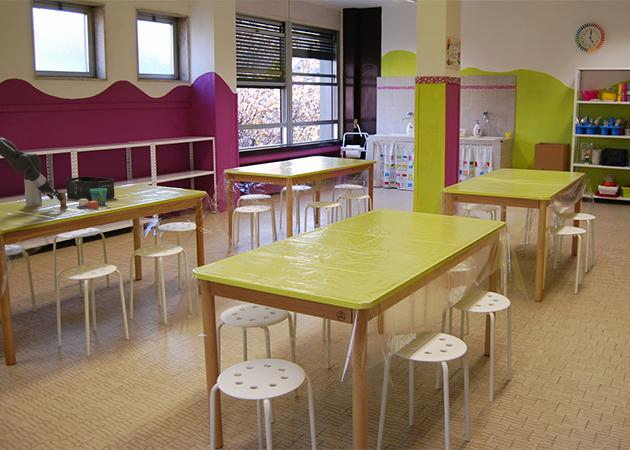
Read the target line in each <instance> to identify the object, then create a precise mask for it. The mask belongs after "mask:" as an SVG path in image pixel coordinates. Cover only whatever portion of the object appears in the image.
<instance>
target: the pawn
mask: <svg viewBox="0 0 630 450" xmlns="http://www.w3.org/2000/svg"><path fill="white" fill-rule="evenodd" d="M58 192H59V193H60V194H61V195H60V196H61V197H62V198H63V200H62V201H59V202H60V204H59V205H60V206H59V208H60V209H59V210H65V209H68V208H69V207H68V205H67V193H66V191H58Z"/></svg>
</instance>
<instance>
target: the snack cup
mask: <svg viewBox="0 0 630 450" xmlns="http://www.w3.org/2000/svg"><path fill="white" fill-rule="evenodd" d="M106 192H107V189H106V188H94V189H90V193H91V197H92V201H97V202H98V206H105V205H106V202H107V199H106Z"/></svg>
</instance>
